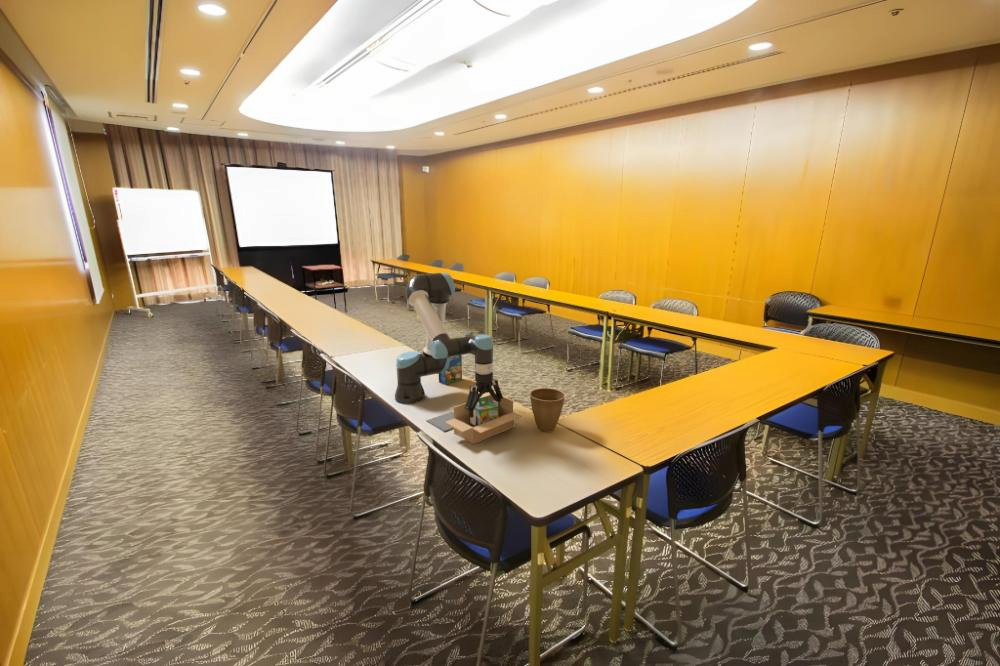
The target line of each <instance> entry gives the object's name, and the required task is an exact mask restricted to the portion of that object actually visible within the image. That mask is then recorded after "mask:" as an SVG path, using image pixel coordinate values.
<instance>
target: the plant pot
mask: <svg viewBox="0 0 1000 666" xmlns="http://www.w3.org/2000/svg"><path fill="white" fill-rule="evenodd" d="M529 397H530V403H531V405H530V406H531V410H532V415H533V418H534V422H535V425H536V427H537V430H538V431H540V432H543V433H551V432H553V431H555V429H556V427H557V424H558V423H559V420H560V417H561V413H562V410H563V407H564V403H565V398H566V394H565V392H563V391H561V390H558V389H555V388H546V387H542V388H536V389H533V390H532V391H530V393H529Z"/></svg>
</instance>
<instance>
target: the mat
mask: <svg viewBox="0 0 1000 666" xmlns="http://www.w3.org/2000/svg"><path fill="white" fill-rule="evenodd" d="M452 419H454V411H449V412H446V413H443V414H441V415H437V416H434V417H432V418H428V419H426V422H427V423H428V424H429V425H431V426H433V427H435V428H437V429H439V430H440V431H442V432H444V433H446V432H449V431H452V430H454V428H453V427H452V426H450V425H448V424H446V423H445V422H446V421H449V420H452Z"/></svg>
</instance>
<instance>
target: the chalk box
mask: <svg viewBox="0 0 1000 666" xmlns="http://www.w3.org/2000/svg"><path fill="white" fill-rule="evenodd" d="M485 396H486V397H485ZM485 396H481V397H480V399H479V402H478V403H477V405H476V407H475V409H474V410H476V425H473V424H471V426H472V427H475V426H478V425H481V424H483V423H486V422H488V421H491V420H493V419H496V418H498V407H497V406H496V405H494V404H493V403H491V402H490V401H488V397H487V396H488V395H485ZM482 400H486V401H482Z"/></svg>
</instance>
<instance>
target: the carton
mask: <svg viewBox="0 0 1000 666" xmlns="http://www.w3.org/2000/svg"><path fill="white" fill-rule="evenodd" d="M486 396H487V397H488V401H490V402H491V403H493V400H494V398H493V397H492V396H491V395H490V394H488V395H485V396H484V397H486ZM482 401H486V400H482ZM478 402H479V401H478ZM465 405H466V402H464V403H461V404H459V405H455V406H452V407H453V413H454V419H452V420H449V421H446V422H445V423H446V424H448V425H450V426H452V427H453V428H454V429H453V434H455V435H456V436H458V437H460V438H462V439H464V440H465V441H467V442H468V443H471V444H472V445H474V444H477V443H479V442H482V441H484V440H486V439H488V438H491V437H494V436H496V435H499V434H500V433H504V432H505V431H507V430H510V429H512V428H515V420H517V419H520V418H522V417H523V415H522V414H520V413H518V412H516V411H514V400H512V399H510V398H507V397H506V396H505V397H504V396H503V398H502V399H501V402H499V408H498V418H496V419H493V420H491V421H488V422H486V423H483V424H481V425H478V426H475V427H472V426H471V423H470V417H469V410H467V409H465Z"/></svg>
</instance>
